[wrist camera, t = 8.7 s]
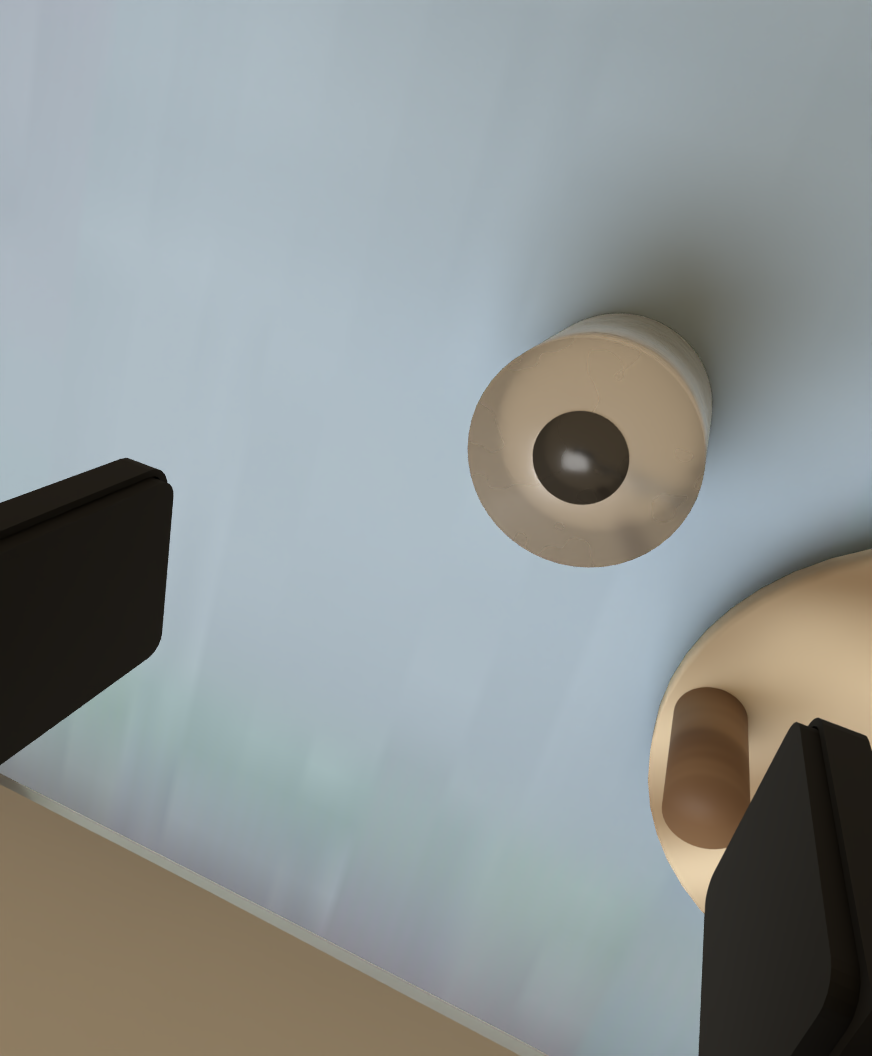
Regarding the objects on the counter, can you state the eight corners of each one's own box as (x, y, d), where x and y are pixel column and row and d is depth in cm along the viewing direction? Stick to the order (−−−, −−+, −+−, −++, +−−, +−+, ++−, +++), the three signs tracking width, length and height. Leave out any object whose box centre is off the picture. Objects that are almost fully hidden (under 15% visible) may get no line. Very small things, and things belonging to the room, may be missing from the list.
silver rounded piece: (744, 347, 25) (746, 383, 19) (670, 523, 27) (652, 602, 22) (554, 288, 26) (501, 306, 20) (502, 462, 29) (443, 520, 23)
